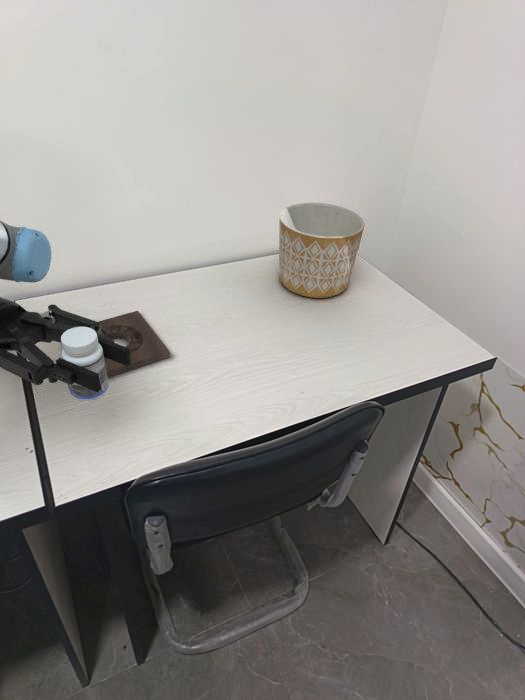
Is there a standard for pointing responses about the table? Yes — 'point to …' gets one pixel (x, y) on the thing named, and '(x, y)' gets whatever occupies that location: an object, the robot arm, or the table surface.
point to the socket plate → (133, 342)
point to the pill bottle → (85, 360)
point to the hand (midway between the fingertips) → (113, 369)
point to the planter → (318, 248)
